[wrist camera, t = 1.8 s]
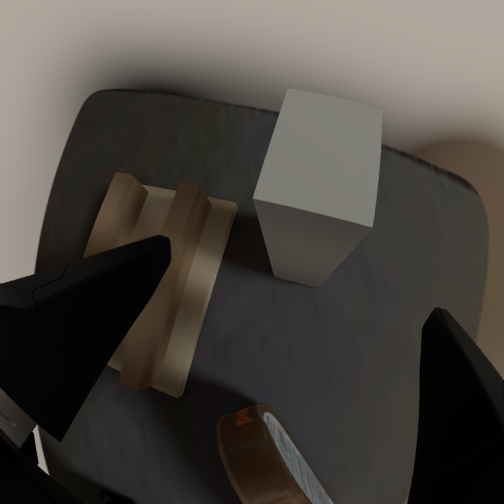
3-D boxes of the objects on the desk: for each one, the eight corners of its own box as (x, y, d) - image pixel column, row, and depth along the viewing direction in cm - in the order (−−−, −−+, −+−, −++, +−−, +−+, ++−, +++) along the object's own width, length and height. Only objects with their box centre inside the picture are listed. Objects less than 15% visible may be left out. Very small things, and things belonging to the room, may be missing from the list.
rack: (182, 394, 18) (159, 409, 14) (78, 343, 19) (46, 343, 16) (237, 208, 20) (227, 182, 17) (128, 186, 22) (103, 164, 18)
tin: (228, 401, 17) (189, 451, 9) (269, 382, 17) (256, 427, 9) (318, 531, 13) (325, 597, 5) (353, 517, 13) (374, 580, 5)
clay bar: (317, 287, 18) (372, 227, 6) (274, 276, 19) (252, 198, 7) (330, 231, 19) (382, 109, 7) (288, 221, 20) (287, 88, 8)
